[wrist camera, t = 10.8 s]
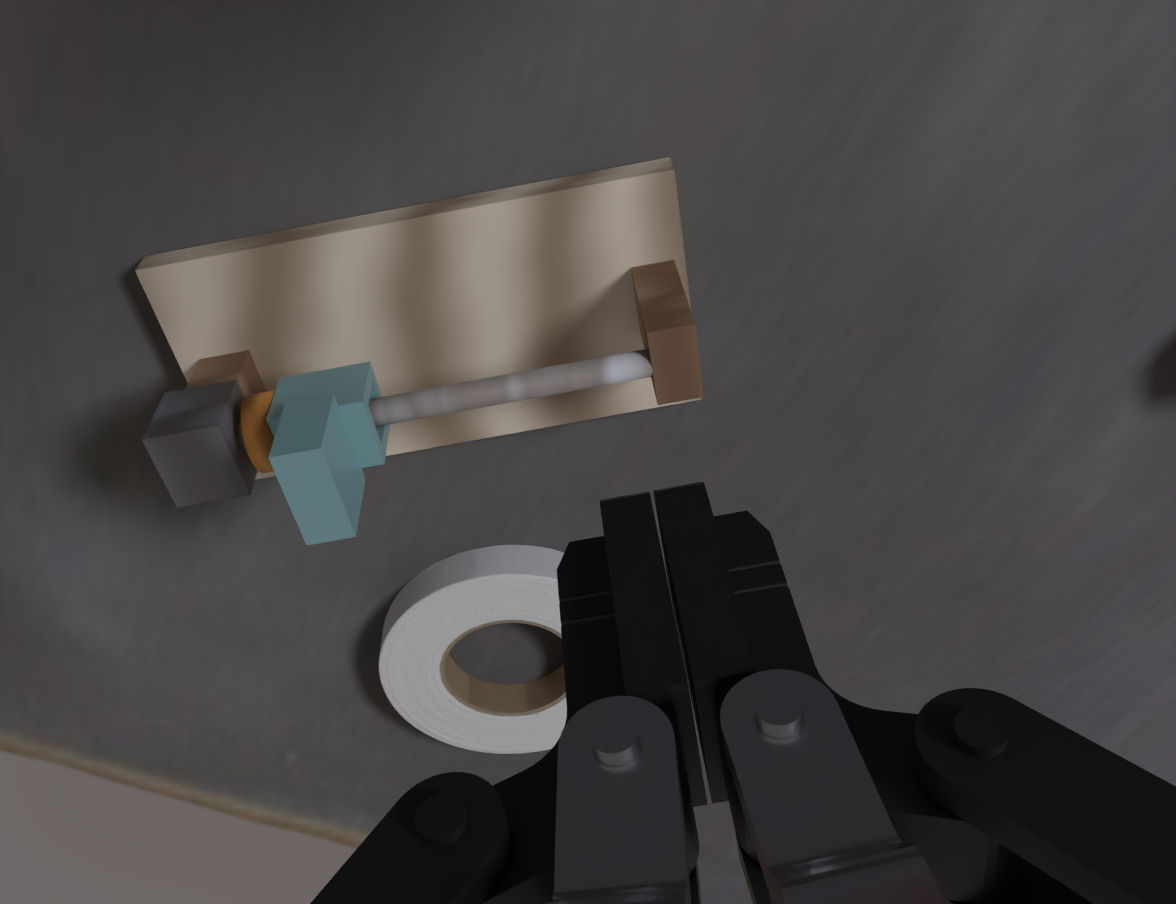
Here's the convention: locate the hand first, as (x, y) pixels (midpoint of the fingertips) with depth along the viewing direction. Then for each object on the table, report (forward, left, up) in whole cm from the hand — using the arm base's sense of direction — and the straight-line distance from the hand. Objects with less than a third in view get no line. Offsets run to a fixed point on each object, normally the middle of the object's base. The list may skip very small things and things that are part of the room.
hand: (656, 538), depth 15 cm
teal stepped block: (+12, +13, -28) cm, 33 cm away
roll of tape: (+9, +35, -34) cm, 49 cm away
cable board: (+8, +13, -33) cm, 36 cm away
